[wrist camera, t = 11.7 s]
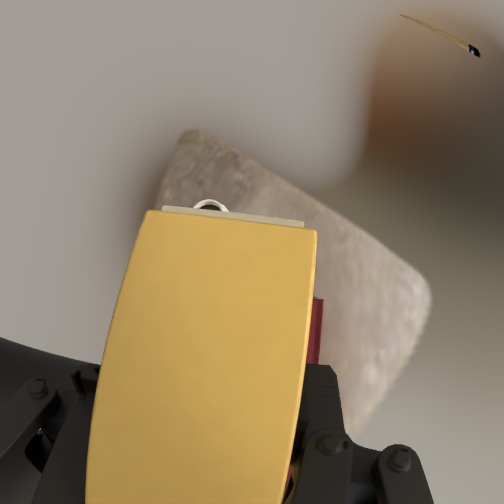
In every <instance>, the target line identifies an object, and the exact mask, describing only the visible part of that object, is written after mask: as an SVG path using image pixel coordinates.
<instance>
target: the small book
mask: <svg viewBox="0 0 504 504" xmlns="http://www.w3.org/2000/svg"><path fill="white" fill-rule="evenodd" d="M316 246H317V233H316V231H315V230H313V229H307V228H304V222H303V221H297V220H289V219H282V218H274V217H266V216H258V215H250V214H242V213H233V212H225V211H216V210H206V209H197V208H187V207H177V206H167V205H164V206H163V207H162V210H161V211H156V210H148V211H147V212H146V213H145V216H144V219H143V222H142V224H141V227H140V230H139V233H138V236H137V238H136V241H135V244H134V247H133V250H132V253H131V256H130V259H129V262H128V265H127V268H126V271H125V275H124V278H123V281H122V284H121V288H120V291H119V294H118V298H117V302H116V305H115V309H114V312H113V316H112V320H111V324H110V328H109V332H108V336H107V340H106V344H105V349H104V354H103V358H102V363H101V368H100V372H99V378H98V383H97V388H96V394H95V400H94V406H93V413H92V420H91V428H90V436H89V445H88V455H87V468H86V485H85V504H281V502H282V498H283V493H284V489H285V484H286V479H287V474H288V469H289V464H290V459H291V454H292V449H293V443H294V437H295V432H296V426H297V420H298V414H299V407H300V401H301V394H302V387H303V380H304V372H305V365H306V357H307V348H308V340H309V330H310V321H311V311H312V300H313V288H314V276H315V262H316Z"/></svg>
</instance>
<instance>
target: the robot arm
mask: <svg viewBox="0 0 504 504" xmlns="http://www.w3.org/2000/svg"><path fill="white" fill-rule="evenodd" d="M100 368H101V365H98V364H86V365H82V366H80V367H78V368H76V369H75V370H74V371H73V372H72V373H71V377H72V380H73V382H74V385H75V388H76V390H77V392H73V391H65V390H58V389H57V388H56V386H55V384H54V382H53V381H52V380H51V379H49V378H46V377H34V378H31V379H30V380H28V381H27V382H25V383H24V384H23V385H22V386H21V387H20V388H19V389H18V390H17V391H16V392H15V393H14V394H13V395H12V396H11V397H10V398H9V399H8V400H7V401H6V402H5V403H4V404H3V405H2V406H1V407H0V504H85V485H86V468H87V455H88V445H89V436H90V428H91V420H92V413H93V406H94V400H95V394H96V388H97V383H98V378H99V372H100ZM40 428H41V430H39V429H40ZM291 463H292V473H291V475H290V477H289V479H288V481H287V483H286V485H285V488H286V489H285V492H284V495H283V498H282V502H281V504H434V502H433V499H432V496H431V493H430V489H429V486H428V483H427V480H426V477H425V474H424V471H423V468H422V465H421V462H420V459H419V457H418V455H417V454H416V452H415V451H414V450H412V449H411V448H410V447H408V446H405V445H402V444H394V445H391V446H388V447H387V448H385V449H384V450H383V451H382V452H381V451H377V450H373V449H368V448H364V447H362V446H359V445H357V444H355V443H354V442H353V441H352V440H351V439H350V437H349V436H348V435H347V434H346V432H345V429H344V423H343V415H342V408H341V401H340V397H339V388H338V381H337V375H336V374H335V372H334V371H333V370H332V368H331V367H330V365H319V364H308V363H307V357H306V365H305V372H304V380H303V387H302V394H301V401H300V407H299V414H298V420H297V426H296V432H295V437H294V443H293V449H292V454H291V459H290V464H289V467H290V465H291Z"/></svg>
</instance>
